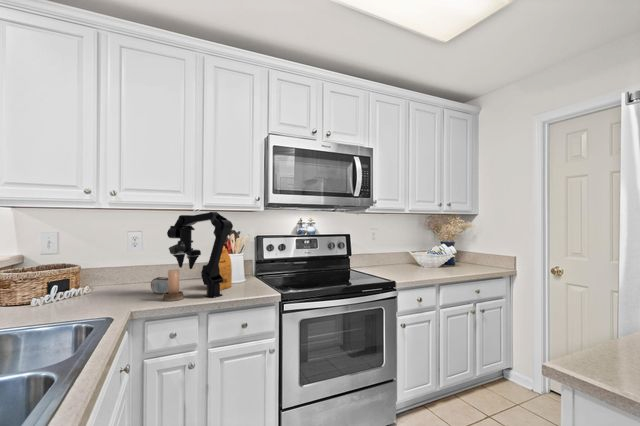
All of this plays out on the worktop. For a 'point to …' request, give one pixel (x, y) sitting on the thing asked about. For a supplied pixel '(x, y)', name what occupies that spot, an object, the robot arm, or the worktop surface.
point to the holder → (173, 296)
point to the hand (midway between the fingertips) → (185, 268)
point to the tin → (159, 285)
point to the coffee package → (225, 270)
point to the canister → (173, 282)
